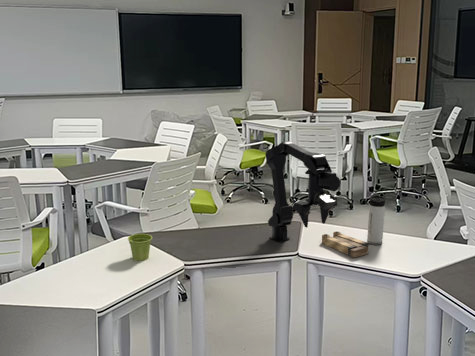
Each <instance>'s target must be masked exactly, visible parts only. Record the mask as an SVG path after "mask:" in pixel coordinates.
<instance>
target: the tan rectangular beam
mask: <svg viewBox="0 0 475 356" xmlns="http://www.w3.org/2000/svg"><path fill="white" fill-rule="evenodd" d="M332 237H333V238H335V239H338V240H340V241H343V242H346V243H348V244H351V245H353V246H356V248H354V249H351V252H350V255H349V256H350V257H351V258H354V259H355V258H358V257H361V256H362V257H363V256H364V255H368V254H369V246H370V244H369V243H368V242H367V241H364V240H361V239H358V238H356V237H355V238H354V237H352V236H348V235H346V234H343V233H342V232H341V231H333V232H332Z"/></svg>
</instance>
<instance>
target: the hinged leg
mask: <svg viewBox="0 0 475 356" xmlns="http://www.w3.org/2000/svg"><path fill="white" fill-rule="evenodd" d="M321 244H322V245H324V246H327V247H330V248H331V249H334V250H336V251H339V252H341V253H344V254H346V255H348V256H350V252H351V249H354V248H356V246H353V245H351V244H348V243H346V242H343V241H340V240H338V239H335V238H333V236H330V234H327V233H323V234H321Z"/></svg>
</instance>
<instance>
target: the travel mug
mask: <svg viewBox="0 0 475 356" xmlns="http://www.w3.org/2000/svg"><path fill="white" fill-rule="evenodd" d="M368 208H369V209H368V222H367V235H366V236H367V239H366V242H367V243H369V245H373V246H378V245H382V244H383V238H384V224H385V223H384V222H385V211H386V198H385V197H384V196H380V195H379V194H377V195H376V194H374V195H372V196H370V197H369V206H368Z"/></svg>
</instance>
